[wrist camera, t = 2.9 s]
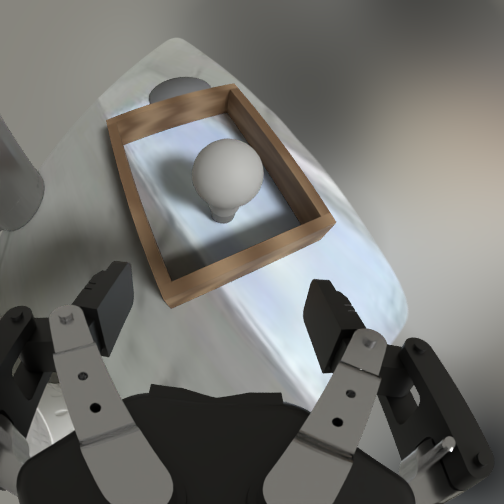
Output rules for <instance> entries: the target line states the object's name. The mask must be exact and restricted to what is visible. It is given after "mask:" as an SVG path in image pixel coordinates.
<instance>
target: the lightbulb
mask: <svg viewBox="0 0 504 504" xmlns="http://www.w3.org/2000/svg"><path fill="white" fill-rule="evenodd" d="M263 175H264V171H263V165H262V162H261V159H260V157H259V156H258V154H257V153H256V151H255V150H254V149H253V148H252V147H251V146H249V145H248V144H246V143H244V142H242V141H239V140H236V139H221V140H218V141H214V142H212V143H210V144H209V145H207V146H206V147H205V148H203V149H202V150H201V151H200V153H199V154H198V156H197V157H196V159H195V161H194V165H193V168H192V181H193V185H194V187H195V189H196V191H197V193H198V194H199V196H200V197H201V198H202V199H203V200H204V201H206V202H207V203H208V204H209V208H210V209H211V214H212V217H213V219H214V220H215V221H216V222H218V223H228V222H230V221H231V220H232V219H233V218H234V215H235V213H236V212H237V210H238V209H239V207H240V206H243V205H245V204H246V203H248V202H250V201H251V200H252V199H253V198H254V197H255V196H256V194H257V193H258V191H259V190H260V188H261V185H262V182H263Z"/></svg>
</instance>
